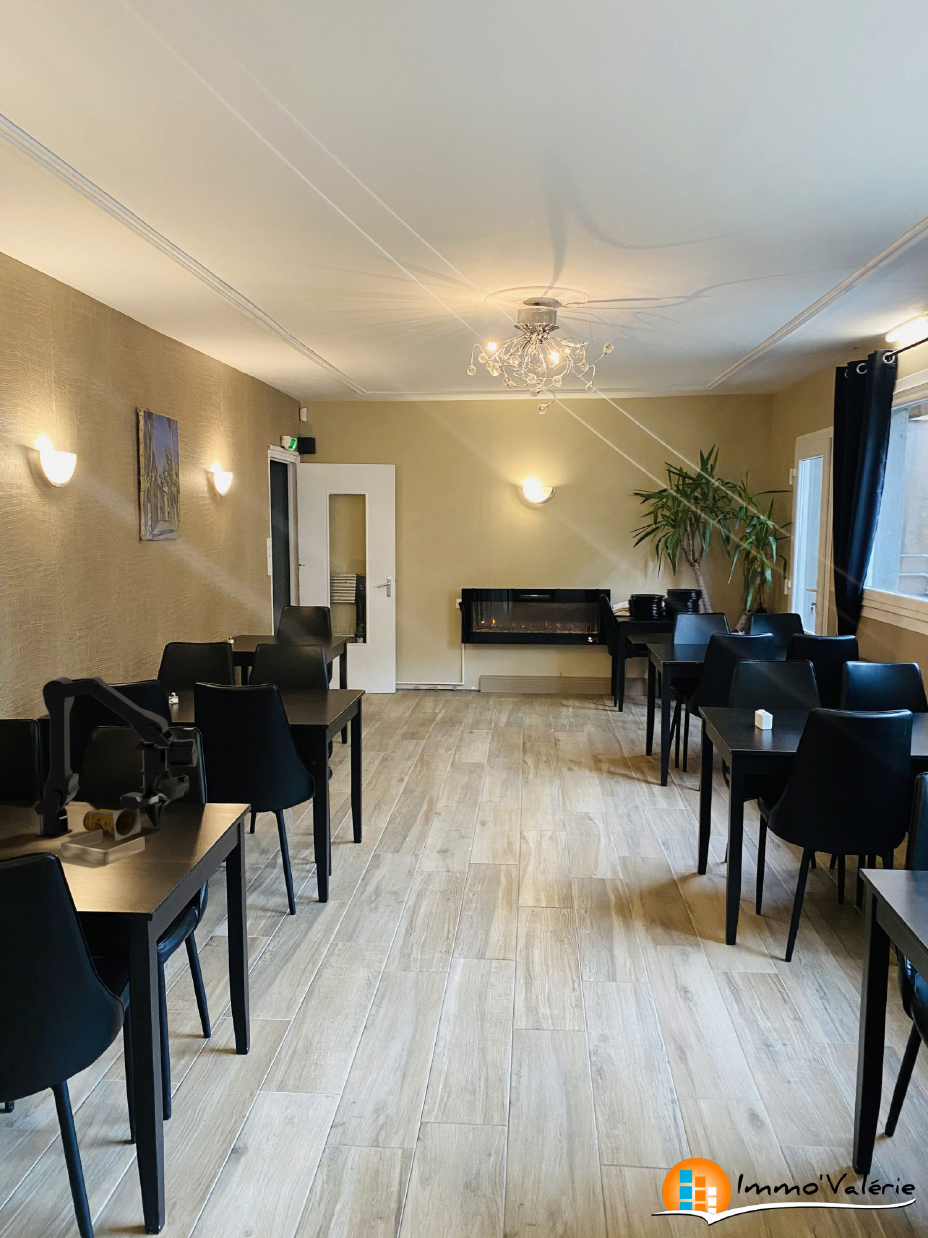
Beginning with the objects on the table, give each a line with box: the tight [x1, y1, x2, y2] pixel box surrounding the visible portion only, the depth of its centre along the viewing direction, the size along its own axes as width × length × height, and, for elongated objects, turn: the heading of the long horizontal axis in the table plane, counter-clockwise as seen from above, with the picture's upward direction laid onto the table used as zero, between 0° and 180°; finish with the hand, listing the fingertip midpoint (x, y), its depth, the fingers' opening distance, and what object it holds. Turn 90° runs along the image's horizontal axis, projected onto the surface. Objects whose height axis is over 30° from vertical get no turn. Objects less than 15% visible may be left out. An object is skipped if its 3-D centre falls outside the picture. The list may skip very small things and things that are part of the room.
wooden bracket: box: [60, 829, 146, 866], centre depth 213 cm, size 15×12×3 cm
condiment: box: [82, 807, 142, 842], centre depth 227 cm, size 7×8×12 cm
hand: (156, 826), depth 228 cm, fingers closed
